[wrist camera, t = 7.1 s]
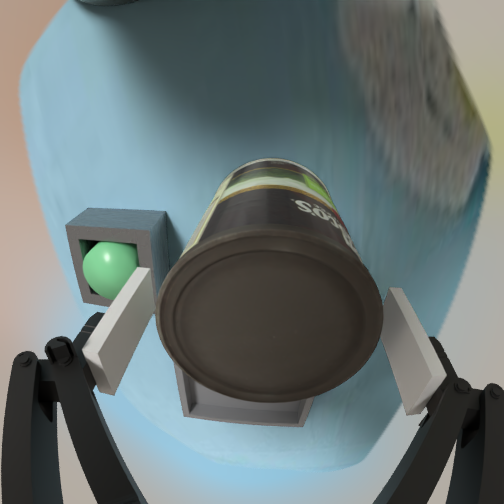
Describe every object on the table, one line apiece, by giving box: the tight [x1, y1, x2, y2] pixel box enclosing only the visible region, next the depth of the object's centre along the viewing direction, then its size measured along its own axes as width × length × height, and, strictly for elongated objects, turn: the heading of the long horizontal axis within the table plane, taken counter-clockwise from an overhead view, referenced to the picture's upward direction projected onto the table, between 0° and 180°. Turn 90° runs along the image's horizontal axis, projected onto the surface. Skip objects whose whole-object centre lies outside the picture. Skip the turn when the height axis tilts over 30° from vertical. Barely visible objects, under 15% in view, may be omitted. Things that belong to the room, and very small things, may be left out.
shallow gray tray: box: [173, 361, 315, 427], centre depth 33 cm, size 16×16×3 cm
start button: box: [83, 241, 140, 300], centre depth 26 cm, size 5×5×4 cm
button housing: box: [65, 208, 170, 314], centre depth 26 cm, size 8×8×4 cm
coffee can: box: [155, 158, 384, 403], centre depth 20 cm, size 10×10×14 cm
